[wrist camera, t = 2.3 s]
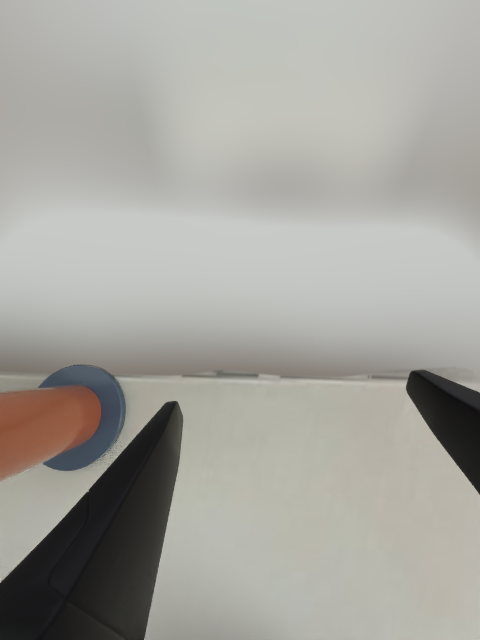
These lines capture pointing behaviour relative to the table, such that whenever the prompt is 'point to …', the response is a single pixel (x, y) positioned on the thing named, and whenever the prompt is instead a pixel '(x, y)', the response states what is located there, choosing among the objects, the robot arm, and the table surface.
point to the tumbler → (44, 425)
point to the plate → (110, 414)
